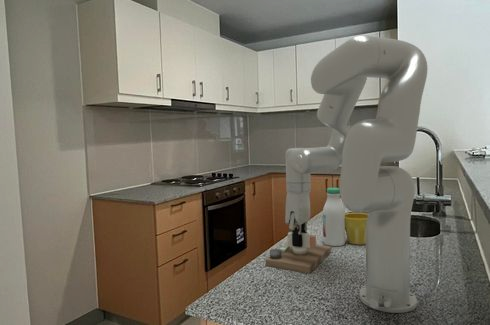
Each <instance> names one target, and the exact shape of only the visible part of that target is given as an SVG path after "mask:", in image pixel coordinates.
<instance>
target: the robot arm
mask: <svg viewBox="0 0 490 325" xmlns="http://www.w3.org/2000/svg"><path fill="white" fill-rule="evenodd" d="M427 77H428V62H427V58H426V56H425V54H424V53H423V51H422V50H421V49H420V48H419V47H418V46H416V45H414V44H413V43H410V42H408V41H405V40H402V39H397V38H396V39H394V38H388V37H379V36H373V35H356V36H354V37H351V38H349V39H347V40H346V41H345V42H343V43H342V44H340V45H339V46H338V47H336V48H334V49H333V50H332V51H330V52H329V53H327V54H325V56H324V57H323V58H321V59H320V60H319V61H318V62H317V64H316V65H315V66H314V68H313V70H312V71H311V76H310V84H311V87H312V89H313V91H314V92H315V93H317V94H319V95H323V97H322V99H321V102H320V104H319V107H318V109H317V111H316V117H317V119H318V120H319V121H320V122H321V123H322V124H323V125H324V126H327V127H328V128H330V129H332V132H331V137H330V140H329V142H328V144H327V145H326V146H319V147H316V146H315V147H292V148H288V149H287V150H286V151H285V184H286V185H285V186H286V187H285V188H286V190H285V191H286V198H285V215H284V216H285V217H284V218H285V219H284V220H285V224H286V225H289V226H288V229H289V230H291V231H290V232H291V233H292V245H293V246H296V247H302V246H303V244H302V234H301V233H308V232H307V230H308V221H310V219H311V200H310V193H311V191H312V190H311V189H312V188H311V174H317V173H326V172H327V173H328V172H333V171H335V170H337V169H338V168H339V167H340V166H341V167H340V169H341V170H340V178H339V189H340V195H339V197H340V201H341V203H342V205H344V206H345V208H346V209H347V210H349V211H350V212H351V213H365V214H368V217H367V221H366V244H365V286H363V287H362V288H361V289H360V290H359V292H358V294H359V295H358V298H359V300H360V301H361V302H362V303H363V304H364V305H365V306H367V307H369V308H371V309H373V310H377V311H380V312H384V313H391V314H403V313H408V312H411V311H414V310H415V309H416V308H417V306H418V298H417V296H416V295H415V294H414V293H412V292H411V290H410V288H411V286H410V284H411V281H410V280H411V279H410V278H411V277H410V275H411V272H410V270H411V268H410V265H411V262H410V261H411V259H410V258H411V257H410V255H411V246H410V245H411V244H410V243H411V239H410V238H411V218H412V210H413V209H412V208H413V204H414V199H415V195H416V194H415V193H416V186H415V182H414V180H413V177H412V176H411V174H410V173H409V172H408V171H407V170H405V168H402V167H399V166H395V165H394V166H393V165H390V166H389V165H386V166H385V165H384V166H381V164H384V163H385V164H386V163H395V162H401V161H404V160H406V159H408V158H409V157H410V156H411V155H412V154H413V151H414V149H415V144H416V138H417V134H418V133H417V131H418V126H419V118H420V112H421V104H422V98H423V95H424V89H425V87H426V86H425V85H426V83H427ZM368 78H375V79H377V78H378V79H386V80H388V82H387V83H386V85H385V86H384V87H383V89H382V91H381V93H380V96H379V98H378V102H377V110H376V116H375V118H373V119H371V118H368V119H366V118H365V119H362V120H358V121H356V123H354V124H352V125H351V127H350V129H349V127H348V123H349V120H350V117H351V116H352V113H353V111H354V109H355V107H356V104H357V103H358V101H359V98H360V96H361V95H362V94H361V93H362V91H363V89H364V87H365V85H366V83H367V80H368Z"/></svg>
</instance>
